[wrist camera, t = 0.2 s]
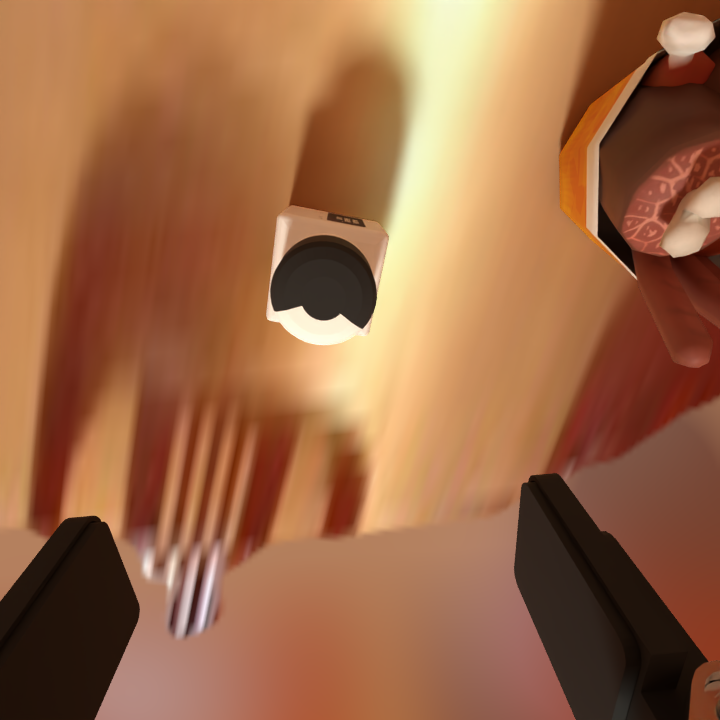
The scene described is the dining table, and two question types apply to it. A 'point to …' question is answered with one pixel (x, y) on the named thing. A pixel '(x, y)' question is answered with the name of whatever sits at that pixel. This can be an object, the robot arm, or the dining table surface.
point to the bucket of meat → (658, 181)
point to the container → (325, 274)
